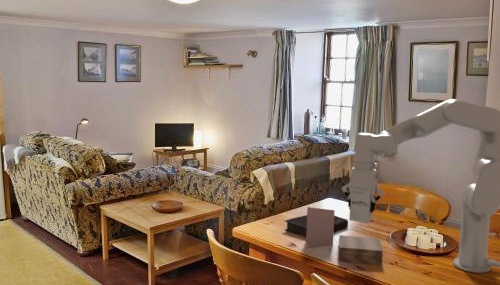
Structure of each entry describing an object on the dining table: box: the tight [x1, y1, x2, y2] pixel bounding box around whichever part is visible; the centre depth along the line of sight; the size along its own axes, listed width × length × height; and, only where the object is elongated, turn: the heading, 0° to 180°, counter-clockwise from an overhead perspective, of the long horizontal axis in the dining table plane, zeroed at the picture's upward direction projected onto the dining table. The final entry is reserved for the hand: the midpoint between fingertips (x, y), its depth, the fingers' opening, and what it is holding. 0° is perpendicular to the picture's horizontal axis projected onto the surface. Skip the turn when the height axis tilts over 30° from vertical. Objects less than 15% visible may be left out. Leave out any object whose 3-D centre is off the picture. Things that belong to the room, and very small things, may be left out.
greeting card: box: [305, 207, 335, 248], centre depth 197 cm, size 11×7×15 cm, turn 70°
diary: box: [284, 214, 349, 237], centre depth 219 cm, size 19×25×5 cm
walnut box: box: [337, 235, 384, 266], centre depth 187 cm, size 16×14×6 cm
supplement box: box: [349, 188, 373, 224], centre depth 184 cm, size 7×7×13 cm
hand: (361, 209), depth 184 cm, fingers closed on supplement box, 7 cm apart
